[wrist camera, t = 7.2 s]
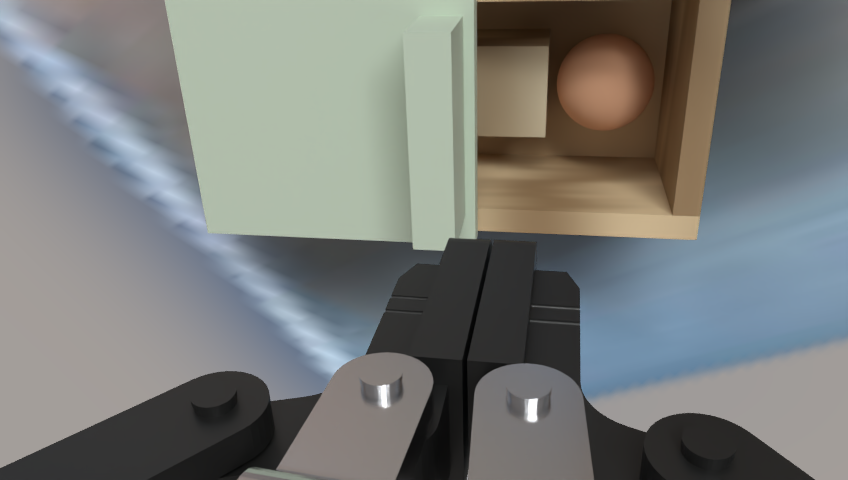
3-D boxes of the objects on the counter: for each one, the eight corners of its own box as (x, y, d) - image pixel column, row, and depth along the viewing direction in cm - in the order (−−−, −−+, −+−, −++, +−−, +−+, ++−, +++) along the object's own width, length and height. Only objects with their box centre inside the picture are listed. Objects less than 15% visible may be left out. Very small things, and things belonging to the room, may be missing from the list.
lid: (476, -27, 20) (462, -11, 17) (477, 235, 23) (466, 283, 21) (172, -22, 21) (116, -6, 19) (216, 224, 25) (174, 267, 22)
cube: (550, 28, 26) (548, 46, 23) (547, 111, 27) (545, 137, 24) (465, 28, 26) (454, 46, 23) (466, 110, 27) (456, 135, 25)
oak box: (698, -53, 24) (736, -33, 19) (671, 170, 28) (696, 240, 23) (434, -47, 26) (400, -27, 21) (440, 164, 29) (412, 227, 24)
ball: (654, 24, 25) (664, 44, 22) (644, 115, 26) (654, 144, 24) (559, 25, 26) (558, 44, 23) (555, 114, 27) (553, 142, 24)
